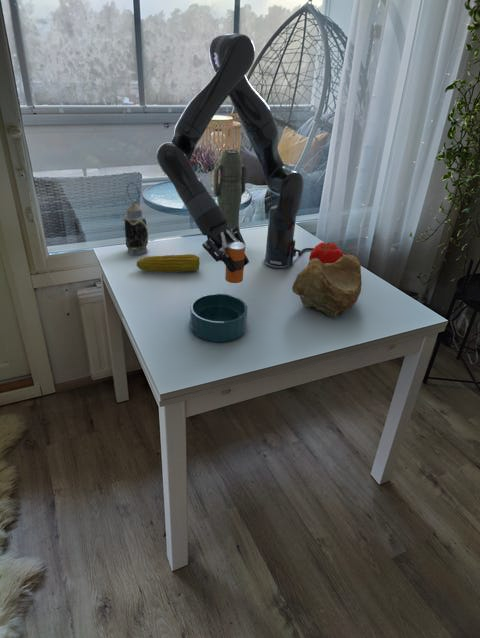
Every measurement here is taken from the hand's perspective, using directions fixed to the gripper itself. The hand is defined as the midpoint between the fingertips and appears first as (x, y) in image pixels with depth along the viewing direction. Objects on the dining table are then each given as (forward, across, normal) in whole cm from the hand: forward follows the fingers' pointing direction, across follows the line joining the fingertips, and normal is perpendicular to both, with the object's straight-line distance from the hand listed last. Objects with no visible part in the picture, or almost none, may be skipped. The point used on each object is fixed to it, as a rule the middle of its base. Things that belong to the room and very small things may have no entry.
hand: (240, 267), depth 118 cm
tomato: (+15, +47, +8) cm, 50 cm away
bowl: (+10, -7, +13) cm, 18 cm away
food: (-13, +11, +36) cm, 40 cm away
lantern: (-27, +15, +50) cm, 59 cm away
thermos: (-12, +41, +35) cm, 55 cm away
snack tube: (+2, 0, +4) cm, 5 cm away
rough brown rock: (+25, +23, -2) cm, 34 cm away
